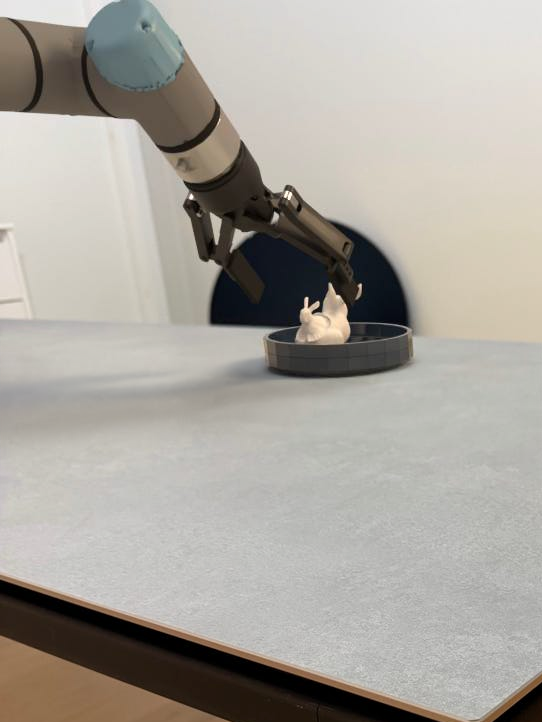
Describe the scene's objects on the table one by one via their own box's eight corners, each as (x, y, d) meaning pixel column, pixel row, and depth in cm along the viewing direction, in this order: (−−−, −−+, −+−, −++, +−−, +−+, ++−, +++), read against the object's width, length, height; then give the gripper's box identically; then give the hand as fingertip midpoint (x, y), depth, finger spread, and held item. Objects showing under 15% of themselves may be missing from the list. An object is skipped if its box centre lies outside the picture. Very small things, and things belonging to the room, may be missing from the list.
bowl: (237, 373, 122) (233, 341, 120) (318, 349, 137) (315, 320, 136) (367, 382, 115) (365, 347, 113) (437, 355, 130) (436, 325, 129)
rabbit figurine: (341, 350, 131) (335, 276, 127) (385, 354, 127) (380, 277, 123) (281, 365, 122) (272, 285, 118) (326, 369, 118) (318, 287, 114)
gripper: (103, 189, 101) (212, 318, 120) (302, 186, 92) (385, 325, 111) (129, 134, 103) (232, 269, 122) (326, 126, 94) (404, 273, 113)
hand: (305, 296), depth 117 cm, fingers open, 13 cm apart
